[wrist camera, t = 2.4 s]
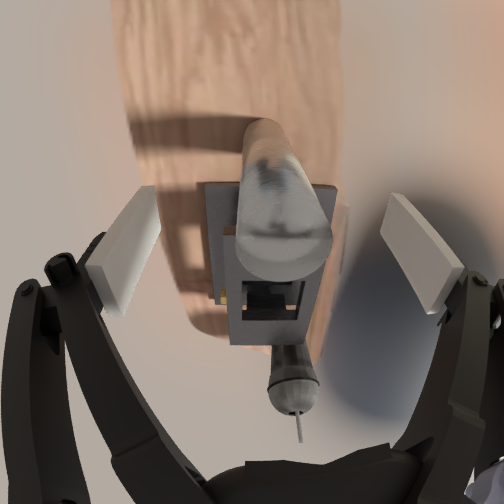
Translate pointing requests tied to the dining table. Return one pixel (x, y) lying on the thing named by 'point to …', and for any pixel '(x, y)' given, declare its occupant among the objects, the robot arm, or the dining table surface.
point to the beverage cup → (292, 381)
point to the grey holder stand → (252, 287)
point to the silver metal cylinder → (278, 209)
